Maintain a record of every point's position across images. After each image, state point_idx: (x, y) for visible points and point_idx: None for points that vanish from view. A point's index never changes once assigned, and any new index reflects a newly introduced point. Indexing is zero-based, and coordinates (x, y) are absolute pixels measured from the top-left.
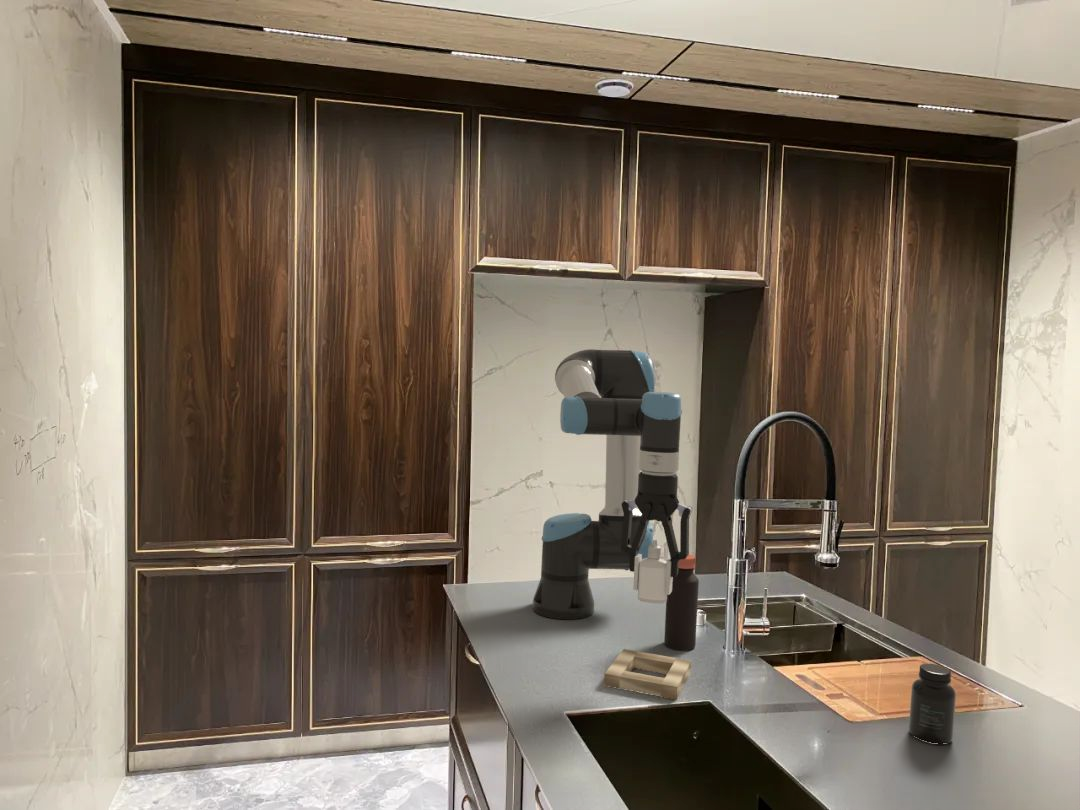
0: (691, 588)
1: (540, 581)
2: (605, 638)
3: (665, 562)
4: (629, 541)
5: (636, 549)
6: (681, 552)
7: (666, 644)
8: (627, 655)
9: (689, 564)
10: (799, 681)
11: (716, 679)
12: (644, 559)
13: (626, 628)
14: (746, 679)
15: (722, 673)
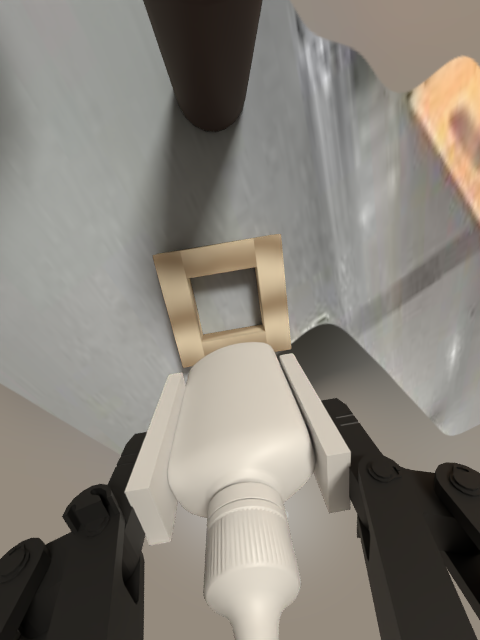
0: None
1: None
2: (60, 155)
3: (308, 477)
4: (13, 636)
5: (140, 603)
6: (457, 570)
7: (190, 121)
8: (174, 282)
9: None
10: (453, 152)
11: (320, 235)
12: (199, 514)
13: (49, 40)
14: (366, 203)
15: (324, 201)
